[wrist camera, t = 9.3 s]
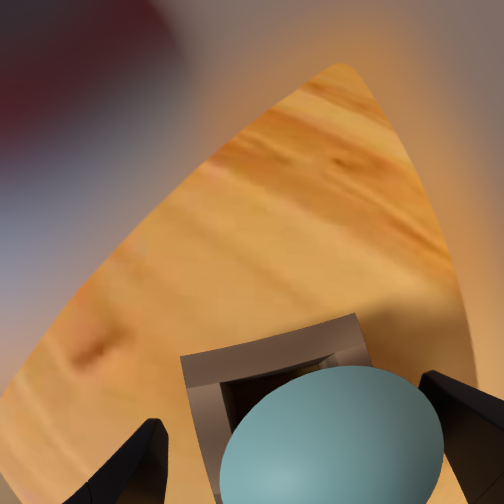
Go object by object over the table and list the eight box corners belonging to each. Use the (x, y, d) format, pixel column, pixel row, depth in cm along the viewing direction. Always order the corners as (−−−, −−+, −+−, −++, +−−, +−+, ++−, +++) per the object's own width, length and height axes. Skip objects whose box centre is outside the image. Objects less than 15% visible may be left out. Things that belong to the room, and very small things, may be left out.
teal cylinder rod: (315, 446, 14) (423, 543, 2) (252, 443, 14) (210, 557, 2) (320, 389, 15) (448, 360, 4) (258, 385, 16) (233, 359, 4)
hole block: (369, 455, 13) (399, 469, 9) (232, 492, 12) (221, 519, 8) (334, 333, 17) (355, 312, 13) (201, 366, 16) (180, 356, 12)
